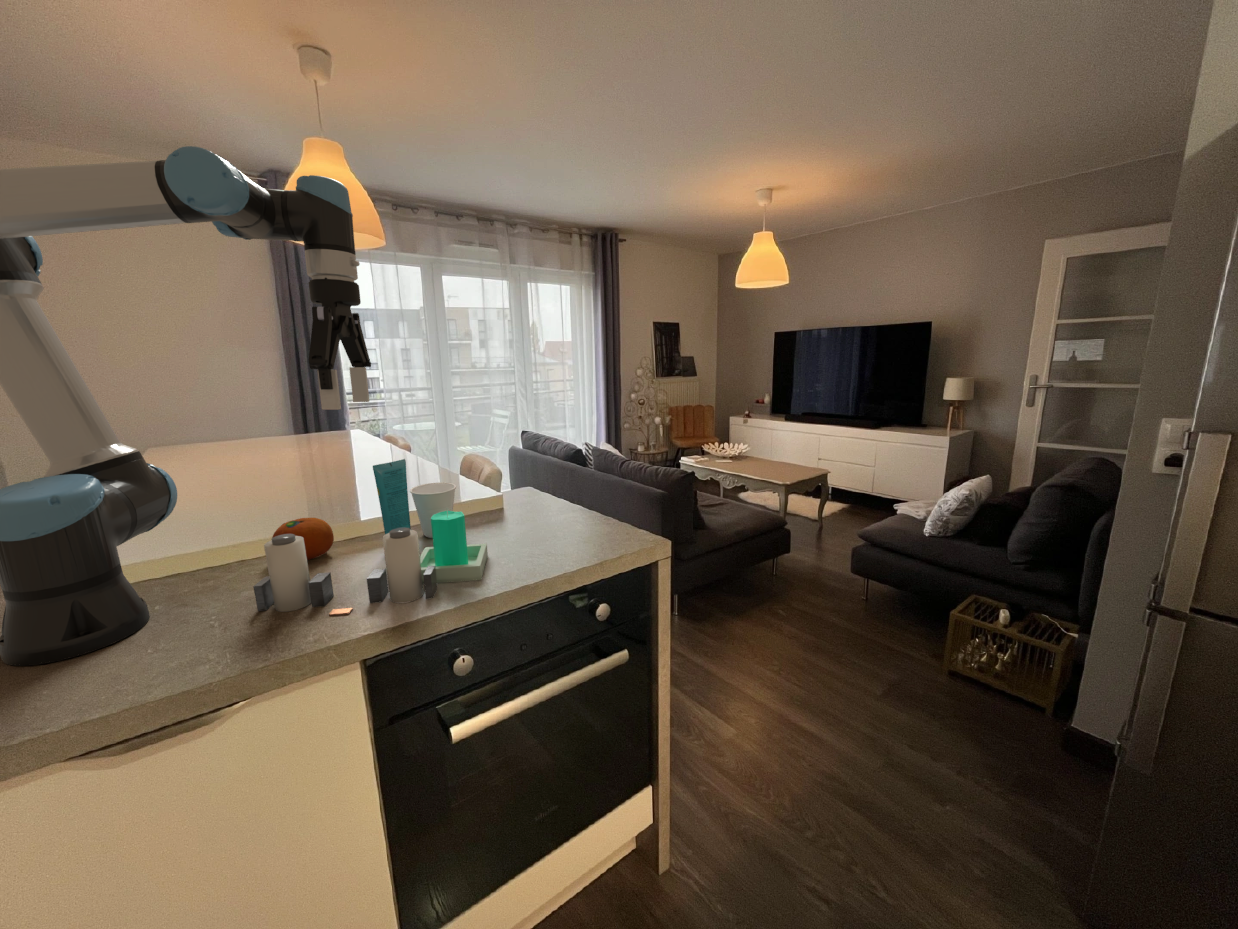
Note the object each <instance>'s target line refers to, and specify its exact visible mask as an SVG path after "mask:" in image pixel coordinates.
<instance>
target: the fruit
mask: <svg viewBox="0 0 1238 929" xmlns="http://www.w3.org/2000/svg"><path fill="white" fill-rule="evenodd" d="M282 534H295V536H301V537H303V538H304V544H305V551H306V557H307V561H310V560H313V559H316V558H318V557H321V556H323V555H325V554H326V553H327V552H328V551H329V550H330V549H331V547H332V546H333V543H334V542H335V541H334V540H335V537H334V536H335V535H334V531H333V529H332V527H331V526H330V524H329V523H328V522H326V521H325V520H323V519H322V518H317V517H302V518H301V517H300V518H296V519H292V520H288V521H287V522H284V523H283V524H281V525H280V526H278V527H277V529H276V530H275V531H274V532H273V535H272V536H271V539H272V538H273V537H275V536H278V535H282Z"/></svg>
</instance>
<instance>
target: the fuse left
mask: <svg viewBox="0 0 1238 929" xmlns="http://www.w3.org/2000/svg"><path fill="white" fill-rule="evenodd" d="M272 537H273V536H272ZM272 537H271V540H269V541H267V542H265V543H264V544H263V548H264V552H265V553H264V555H265V560H266V565H267V569H268V570H267V571H268V576H269V577H270V583H271V588H272V594H273V600H274V604H273V605H274V609H275V611H277V612H282V613H287V612H294V611H297V610H301V609H303V608H306V607H307V606H308V605H310V604H311V598H310V591H309V585H308V582H309V581H310V580H311V577H310V576H311V575H310V571H309V570H310V569H309V564H308V560H307V557H306V551H305V544H304V538H303V537H301V536H295V534H282V535H278V536H275V537H273V538H272Z"/></svg>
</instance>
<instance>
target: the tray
mask: <svg viewBox="0 0 1238 929" xmlns="http://www.w3.org/2000/svg"><path fill="white" fill-rule="evenodd" d="M467 553H468V565H453V566H438V567H435V568H436V579H437V584H446V583H459V582H461V583H462V582H474V581H482V579H483V574H484V571H485V568H486V564H487V560H488V558H489V555H488V543H475V544H467ZM420 561H421V571H422V581H423V585H424V577H423V574H424V573H425V571H426V569H427V567H428V566H435V557H434V547H433V546H425V548H424V549H423V550H422V553H420Z"/></svg>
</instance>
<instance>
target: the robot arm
mask: <svg viewBox="0 0 1238 929" xmlns="http://www.w3.org/2000/svg"><path fill="white" fill-rule="evenodd" d="M349 195H350V194H349V190H348V188H347V187H346V186H345V184H343V183H342V182H340V181H338V180H337V179H333V178H330V177H327V176H322V175H315V174H314V175H313V174H310V175H301V176H299V177H297V179H296V186H295V190H293V189H288V190H287V189H284V190H283V189H273V188H264V187H261V186H260V185H259V184H257V183H256V182H254V181H253V180H252V179H250V178H249V177H248V176H247V175H245V174H244V173H242V171H240V170H239V169H238V167H236V166H235V165H234V164H232V163H231V162H230V161H228V160H227V159H226V158H224V157H222V156H220V155H218V154H216V153H214V152H212V151H210V150H209V149H207V148H203V147H200V146H196V145H194V146H192V145H190V146H189V145H186V146H181V147H178V148H177V149H176V150H173V151H172V152H171V153H169V154H168V155H167V157H166V159H163V160H162V159H160V160H148V161H147V160H145V161H144V160H143V161H126V162H110V163H109V162H108V163H107V162H106V163H104V162H103V163H89V164H88V163H87V164H72V165H71V164H69V165H68V164H67V165H52V166H49V165H48V166H33V167H32V166H29V167H17V168H16V167H13V168H0V387H1V388H2V389H3V391H4V393H5V394H6V396H7V398H8V399H9V401H10V403H12V405H13V408H14V409H15V410H16V412H17V413H18V414H19V416H20V417H21V419H22V421H23V422H24V424H25V426H26V427H27V429H28V430H29V432H30V433H31V435H32V437H33V438H34V439H35V442H37V444H38V446H39V447H40V449H41V450H42V452H43V454H44V456H45V457H46V458H47V461H49V467H48V468H47V470H46V472H45V474H44V475H43V477H39V478H34V479H32V480H29V481H21V482H17V483H14V484H11V485H8V486H5V487H2V488H0V589H1V592H2V595H3V598H4V602H5V607H4V612H3V617H2V622H1V623H2V624H1V635H0V658H1V660H2V662H3V664H6V665H10V666H18V667H19V666H21V667H22V666H36V665H43V664H49V663H55V662H59V661H63V660H67V659H71V658H74V657H78V656H83V655H85V654H89V653H91V652H95V651H97V650H100V649H103V648H106V647H107V646H110V645H113V644H114V643H116V642H119V641H121V640H124V639H126V638H127V637H129V636H131V635H133V634H134V633H136V632H137V631H138V630H141V629H142V628H143V627H144V626H145V625H146V624H147V623H148V622H149V620H150V616H151V615H150V612H149V607H148V604H147V603H146V601H145V599H143V597H140V595H139V594H138V592H137V591H136V589H135V588H134V587H133V586H132V584H131V582H129V580H128V579H127V577H126V576H125V574H124V572H123V569H122V564H121V560H120V556H119V552H118V547H119V546H121V545H123V544H124V543H126V542H128V541H129V540H132V539H133V538H135V537H136V536H140V535H141V534H144V533H146V532H147V533H148V532H150V531H152V530H153V529H154V528H156V527H157V526H158V525H160V524H161V523H162V522H163V521H165V520H166V519H167V518H168V517H169V516H171V514H172V513H173V511H174V509H175V507H176V505H177V502H178V489H177V486H176V483H175V481H174V480H173V478H172V477H171V476H170V474H169V473H168V472H167V471H165V470H164V469H163V468H161V467H158V466H155V465H154V464H151V463H148V462H146V460H145V458H144V457H143V454H142V453H141V451H140V450H139V449H138V448H135V447H133V446H129V445H127V444H124V443H123V442H121V440H120V438H119V437H118V435H117V434H116V432H115V430H114V428H113V427H112V425H111V424H110V421H109V420H108V419H107V417H106V415H105V413H104V412H103V410H102V409H101V407H100V405H99V403H98V402H97V400H96V399H95V397H94V394H93V392H92V391H91V389H90V388H89V386H88V385H87V383H86V381H85V380H84V378H83V376H82V374H81V373H80V371H79V370H78V368H77V366H76V364H75V363H74V361H73V359H72V358H71V356H70V354H69V352H68V350H67V349H66V347H65V346H64V344H63V342H62V340H61V339H60V337H59V336H58V334H57V332H56V331H55V329H54V327H53V326H52V324H51V323H50V320H49V318H48V316H46V314H45V311H44V310H43V308H42V307H41V305H40V303H39V301H38V298H39V297H40V295H41V293H43V291H44V288H45V287H44V285H43V284H42V282H41V280H40V278H39V276H40V274H41V269H40V268H41V266H43V265H44V264H43V262H44V258H43V252H42V251H41V248H40V246H39V244H38V243H37V241H36V239H35V238H34V237H39V236H40V237H41V236H51V235H60V234H61V235H62V234H63V235H64V234H72V233H73V234H75V233H85V232H97V231H109V230H121V229H122V230H123V229H124V230H125V229H133V228H144V227H146V228H147V227H158V226H167V225H168V226H169V225H180V224H181V225H182V224H197V223H199V224H200V223H209V222H211V223H212V225H213V226H214V227H216V230H217V231H218V232H219V233H220V234H221V235H223V236H225V237H228V238H229V237H230V238H237V239H239V238H240V239H243V240H246V241H247V240H248V241H251V240H266V241H267V240H268V241H288V242H289V241H290V242H291V241H292V242H293V241H294V242H303V248H304V256H305V269H306V275H307V276H308V277H309V278H311V279H310V280H309V281H308V290H309V298H310V301H311V303H312V304H315V305H318V306H312V307H311V313H312V322H311V323H312V324H311V325H312V326H311V332H310V333H311V334H310V343H309V344H310V345H309V354H308V365H309V369H310V370H317V372H316V373H317V380H318V381H317V382H318V387H319V397H320V403H321V406H320V407H321V410H322V411H323V410H324V411H325V410H331V411H334V410H335V411H336V410H337V411H338V410H342V406H341V403H342V402H341V396H340V388H339V387H340V385H339V379H338V378H339V376H338V370H337V369H334V367H335V363H336V359H337V355H338V349H339V344H340V342H341V344H342V346H343V348H344V351H345V353H346V355H347V358H348V360H349V363H350V365H351V367H349V376H350V377H349V378H350V384H351V393H352V394H351V395H352V402H353V403H369V402H370V394H369V385H368V383H369V382H368V375H367V368H370V367H372V362H371V360H370V359H371V358H370V357H369V356H370V355H369V352H368V348H367V346H366V341H365V338H364V334H363V330H362V324H361V319H360V314H359V312H352V309H351V307H357V306H360V304H361V294H360V285H359V284H358V283H357V282H355V281H356V280H358V279H359V277H358V276H359V275H358V267H359V266H360V261H359V260H357V257H356V254H357V253H356V247H355V246H356V244H355V234H354V232H355V231H354V221H353V219H354V218H353V217H354V215H353V213H352V208H351V207H352V206H351V202H350V196H349ZM320 305H321V306H320Z"/></svg>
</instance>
